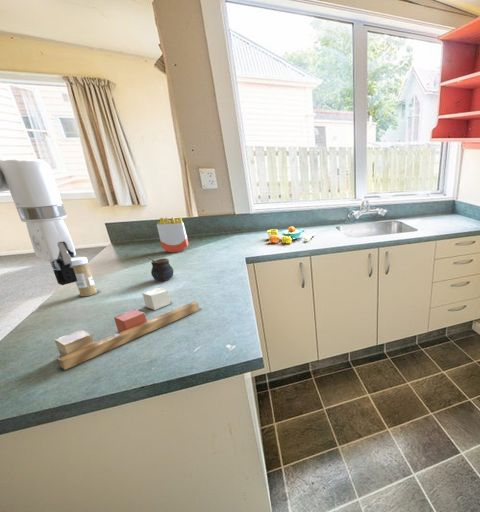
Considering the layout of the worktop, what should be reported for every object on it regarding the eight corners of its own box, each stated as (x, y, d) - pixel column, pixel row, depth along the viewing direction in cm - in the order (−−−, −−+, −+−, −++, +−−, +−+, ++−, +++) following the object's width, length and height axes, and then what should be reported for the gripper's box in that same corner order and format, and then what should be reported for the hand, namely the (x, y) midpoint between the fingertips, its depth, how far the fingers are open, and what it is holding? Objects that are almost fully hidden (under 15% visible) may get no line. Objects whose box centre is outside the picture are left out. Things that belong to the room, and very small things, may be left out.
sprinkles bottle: (100, 292, 107) (89, 257, 103) (85, 297, 103) (73, 261, 98) (91, 290, 108) (80, 255, 104) (76, 295, 104) (64, 259, 100)
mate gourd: (174, 280, 118) (169, 256, 115) (150, 284, 114) (144, 259, 111) (175, 274, 124) (170, 251, 121) (153, 277, 120) (147, 254, 117)
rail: (65, 369, 68) (61, 360, 67) (61, 367, 69) (57, 358, 68) (199, 309, 95) (198, 302, 95) (195, 308, 96) (194, 301, 95)
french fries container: (165, 250, 155) (157, 216, 150) (189, 248, 159) (182, 215, 154) (163, 253, 151) (155, 218, 146) (188, 250, 155) (181, 217, 150)
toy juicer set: (266, 245, 166) (264, 232, 164) (268, 238, 183) (267, 225, 180) (318, 242, 174) (317, 229, 172) (315, 235, 191) (314, 223, 188)
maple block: (70, 363, 70) (63, 345, 68) (61, 357, 72) (54, 339, 71) (97, 351, 74) (91, 334, 73) (87, 346, 76) (81, 329, 75)
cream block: (154, 310, 95) (151, 296, 93) (145, 306, 97) (142, 293, 95) (171, 303, 99) (167, 290, 98) (162, 300, 101) (158, 287, 100)
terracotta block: (128, 337, 80) (123, 321, 79) (118, 332, 82) (113, 317, 81) (148, 328, 85) (144, 313, 83) (139, 324, 87) (134, 309, 85)
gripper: (8, 213, 71) (36, 282, 77) (32, 218, 65) (60, 294, 71) (52, 208, 78) (74, 273, 83) (77, 213, 71) (100, 283, 77)
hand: (68, 282), depth 77 cm, fingers closed
